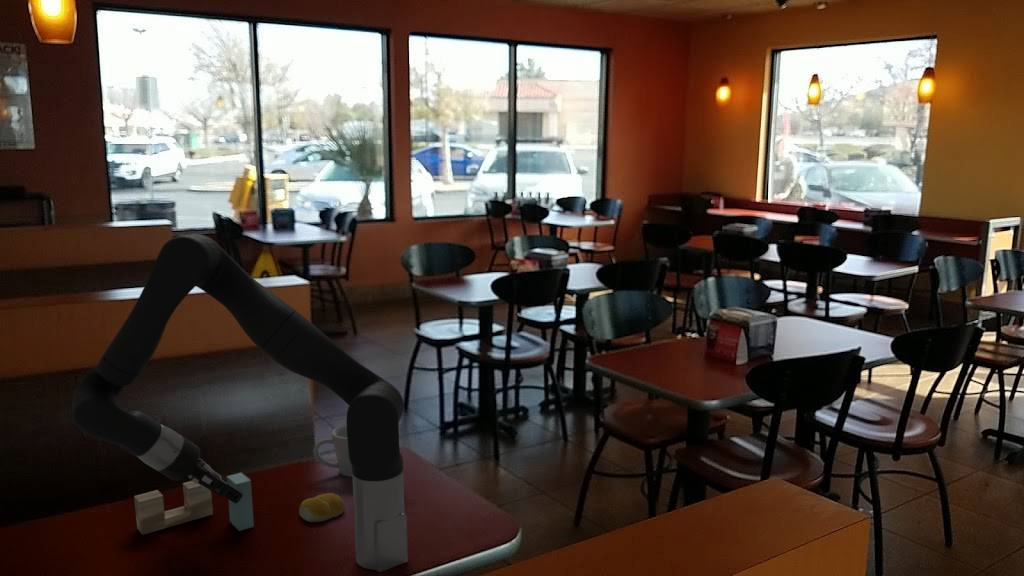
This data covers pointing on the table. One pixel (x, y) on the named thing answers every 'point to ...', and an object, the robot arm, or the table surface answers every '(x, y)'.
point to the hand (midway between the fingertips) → (231, 491)
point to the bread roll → (321, 507)
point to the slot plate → (156, 518)
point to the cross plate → (241, 502)
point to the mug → (337, 451)
